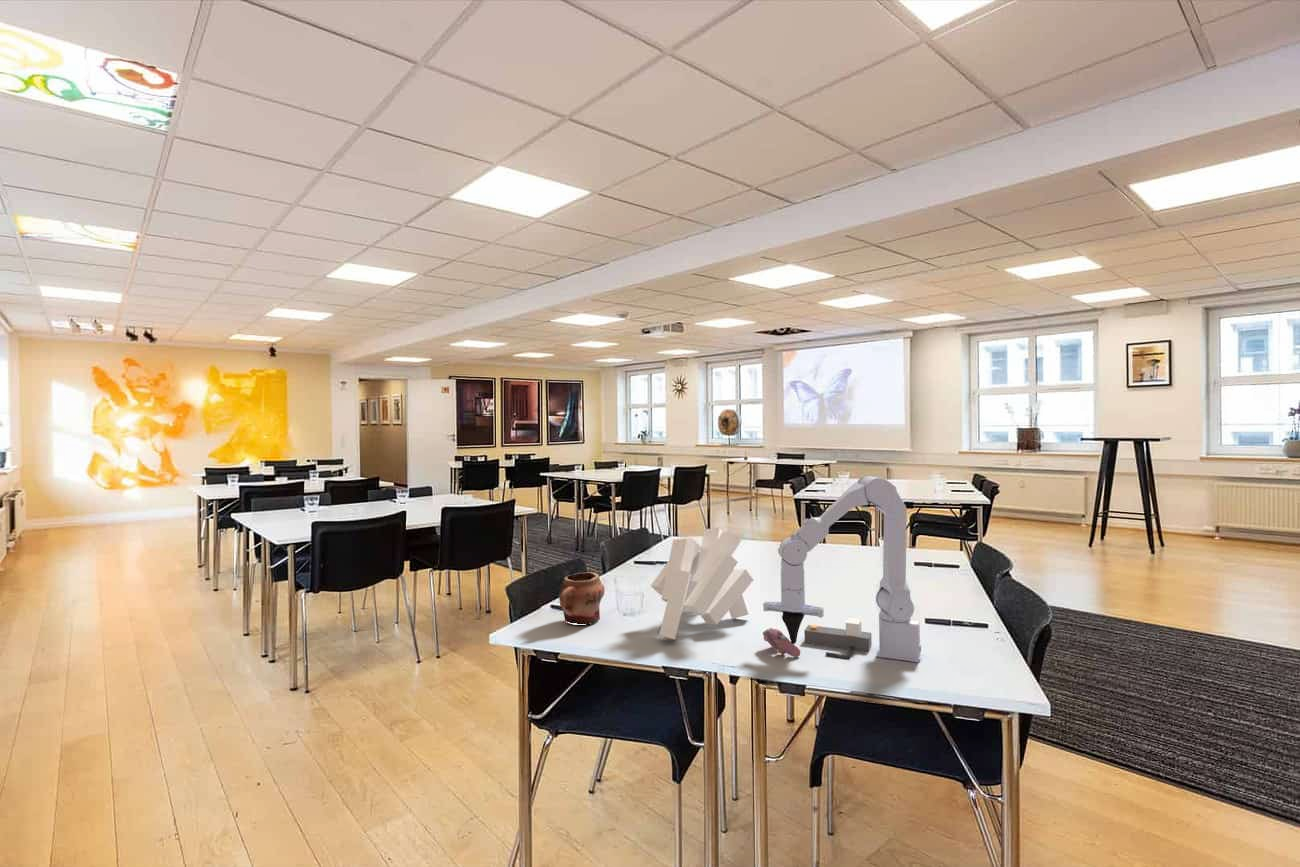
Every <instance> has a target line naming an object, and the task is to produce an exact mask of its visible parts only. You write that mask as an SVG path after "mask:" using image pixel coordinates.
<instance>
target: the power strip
mask: <svg viewBox="0 0 1300 867" xmlns="http://www.w3.org/2000/svg"><path fill="white" fill-rule="evenodd" d="M803 633H804V643H805V642H808V643H807V644H810V643H815V644H814V645H817V644H821V645H820V646H825V645H828V647H832V646H835V648H840V647H842V649H847V648H849V650H848V652H847V654H842V653H834V652H825V655H826V656H827V657H833V656H834V658H841V659H846V660H847V659H848V658H849V659H850V658H851V656H852V653H853V651H854V649H856V651H862V650H863V652H870V650H871V648H872V641H873V640H872V632H870V631H868V632H867V631H862V619H859V618H852V617H848V618H847V620H846V621H845V629H844V628H835V627H827V626H820V625H815V624H808V625H807V626H806V628H805V629H804V632H803Z"/></svg>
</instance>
